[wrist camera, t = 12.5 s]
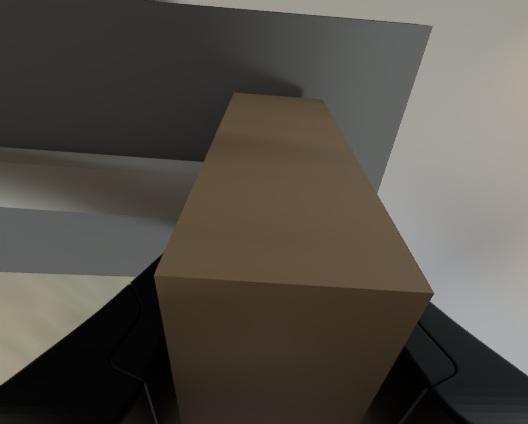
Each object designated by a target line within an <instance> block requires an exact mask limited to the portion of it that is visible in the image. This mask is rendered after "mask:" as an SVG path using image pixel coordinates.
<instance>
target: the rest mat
mask: <svg viewBox="0 0 528 424" xmlns="http://www.w3.org/2000/svg"><path fill="white" fill-rule="evenodd" d="M431 30H432V26H428V25H419V24H410V23H397V22H387V21H375V20H363V19H352V18H340V17H328V16H316V15H305V14H292V13H282V12H270V11H257V10H247V9H235V8H222V7H212V6H200V5H189V4H177V3H165V2H154V1H142V0H0V147H6V148H20V149H33V150H47V151H60V152H74V153H88V154H101V155H115V156H128V157H142V158H155V159H169V160H182V161H196V162H204V160H205V158H206V155H207V153H208V151H209V148H210V146H211V144H212V142H213V139H214V137H215V135H216V132H217V130H218V128H219V126H220V123H221V121H222V119H223V117H224V114H225V112H226V110H227V107H228V105H229V103H230V101H231V98H232V96H233V94H234V93H247V94H259V95H272V96H284V97H297V98H309V99H322V100H323V101H324V103H325V105H326V107H327V108H328V110H329V112H330V114H331V115H332V117H333V119H334V121H335V122H336V124H337V126H338V127H339V129H340V131H341V133H342V134H343V136H344V138H345V140H346V141H347V143H348V145H349V147H350V148H351V150H352V152H353V153H354V155H355V157H356V159H357V160H358V162H359V164H360V166H361V167H362V169H363V171H364V172H365V174H366V176H367V178H368V179H369V181H370V183H371V185H372V186H373V188H374V190H375V192H376V193H377V192H378V189H379V186H380V183H381V180H382V177H383V174H384V171H385V168H386V165H387V162H388V159H389V156H390V153H391V150H392V147H393V144H394V141H395V138H396V135H397V132H398V129H399V126H400V123H401V120H402V117H403V114H404V111H405V108H406V105H407V102H408V99H409V96H410V93H411V90H412V87H413V84H414V81H415V78H416V75H417V72H418V69H419V66H420V63H421V60H422V56H423V54H424V51H425V48H426V45H427V42H428V38H429V35H430V33H431ZM177 221H178V219H168V218H154V217H139V216H125V215H110V214H96V213H81V212H67V211H52V210H38V209H23V208H9V207H0V272H20V273H47V274H74V275H101V276H128V277H137V276H138V275H139V274H140V273H142V272H143V271H144V270H145V269H146V268H147V267H148V266H149V265H150V264H151V263H153V262H154V261H155V260H156V259H157V258H158V257H159V256H160V255H161V254H162V253H164V251H165V249H166V247H167V244H168V242H169V240H170V237H171V235H172V233H173V231H174V228H175V226H176V224H177Z"/></svg>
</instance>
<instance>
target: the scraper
mask: <svg viewBox="0 0 528 424" xmlns="http://www.w3.org/2000/svg"><path fill="white" fill-rule="evenodd" d="M0 207H9V208H23V209H38V210H52V211H67V212H81V213H96V214H110V215H125V216H139V217H154V218H168V219H178V221H177V224H176V226H175V228H174V231H173V233H172V235H171V237H170V240H169V242H168V244H167V247H166V249H165V251H164V253H163V256H162V258H161V260H160V263H159V265H158V267H157V269H156V272H155V274H154V279H155V284H156V289H157V295H158V300H159V306H160V311H161V316H162V322H163V327H164V332H165V338H166V343H167V348H168V354H169V359H170V364H171V370H172V375H173V381H174V386H175V391H176V397H177V402H178V407H179V413H180V418H181V423H182V424H359V423H360V422H361V420H362V418H363V416H364V415H365V413H366V411H367V409H368V408H369V406H370V404H371V402H372V401H373V399H374V397H375V396H376V394H377V392H378V390H379V389H380V387H381V385H382V383H383V382H384V380H385V378H386V376H387V375H388V373H389V371H390V369H391V368H392V366H393V364H394V362H395V361H396V359H397V357H398V355H399V354H400V352H401V350H402V349H403V347H404V345H405V343H406V342H407V340H408V338H409V336H410V335H411V333H412V331H413V329H414V328H415V326H416V324H417V322H418V321H419V319H420V317H421V315H422V314H423V312H424V310H425V308H426V307H427V305H428V303H429V302H430V300H431V298H432V296H433V295H434V292H433V290H432V289H431V287H430V285H429V284H428V282H427V280H426V278H425V276H424V275H423V273H422V271H421V270H420V268H419V266H418V264H417V263H416V261H415V259H414V257H413V256H412V254H411V252H410V250H409V249H408V247H407V245H406V244H405V242H404V240H403V238H402V237H401V235H400V233H399V231H398V230H397V228H396V226H395V224H394V223H393V221H392V219H391V218H390V216H389V214H388V212H387V211H386V209H385V207H384V205H383V204H382V202H381V200H380V199H379V197H378V195H377V193H376V192H375V190H374V188H373V186H372V185H371V183H370V181H369V179H368V178H367V176H366V174H365V172H364V171H363V169H362V167H361V166H360V164H359V162H358V160H357V159H356V157H355V155H354V153H353V152H352V150H351V148H350V147H349V145H348V143H347V141H346V140H345V138H344V136H343V134H342V133H341V131H340V129H339V127H338V126H337V124H336V122H335V121H334V119H333V117H332V115H331V114H330V112H329V110H328V108H327V107H326V105H325V103H324V101H323V100H322V99H309V98H297V97H284V96H272V95H259V94H247V93H234V94H233V96H232V98H231V101H230V103H229V105H228V107H227V110H226V112H225V114H224V117H223V119H222V121H221V123H220V126H219V128H218V130H217V132H216V135H215V137H214V139H213V142H212V144H211V146H210V148H209V151H208V153H207V155H206V158H205V160H204V162H196V161H182V160H169V159H155V158H142V157H128V156H115V155H101V154H88V153H74V152H60V151H47V150H33V149H20V148H6V147H0Z"/></svg>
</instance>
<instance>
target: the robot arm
mask: <svg viewBox="0 0 528 424" xmlns="http://www.w3.org/2000/svg"><path fill="white" fill-rule="evenodd" d="M162 256H163V253H162V254H161V255H160V256H159V257H158V258H157V259H156V260H155V261H154V262H153V263H151V264H150V265H149V266H148V267H147V268H146V269H145V270H144V271H143V272H142V273H140V274H139V275H138V276H137V277H136V278H135V279H134V280H133V281H132V282H131V283H130V285H127V286H126V287H125V288H124V289H123V290H122V291H120V292H119V293H118V294H117V295H116V296H115V297H114V298H113V299H111V300H110V301H109V302H108V303H107V304H106V305H104V306H103V307H102V308H101V309H100V310H99V311H98V312H96V313H95V314H94V315H92V316H91V317H90V318H89V319H87V320H86V321H85V322H84V323H82V324H81V325H80V326H79V327H77V328H76V329H75V330H73V331H72V332H71V333H70V334H68V335H67V336H66V337H64V338H63V339H62V340H60V341H59V342H58V343H56V344H55V345H54V346H52V347H51V348H50V349H48V350H47V351H46V352H44V353H43V354H42V355H40V356H39V357H38V358H36V359H35V360H34V361H32V362H31V363H30V364H29V365H27V366H26V367H25V368H23V369H22V370H21V371H19V372H18V373H17V374H15V375H14V376H13V377H11V378H10V379H9V380H7V381H6V382H4V383H3V384H2V385H0V424H182V423H181V418H180V413H179V407H178V402H177V397H176V391H175V386H174V381H173V375H172V370H171V364H170V359H169V354H168V348H167V343H166V338H165V332H164V327H163V322H162V316H161V311H160V306H159V300H158V295H157V289H156V284H155V279H154V274H155V272H156V269H157V267H158V265H159V263H160V260H161V258H162ZM359 424H528V376H527V375H526V374H525V373H523V372H522V371H520V370H519V369H518V368H516V367H515V366H514V365H512V364H511V363H510V362H508V361H507V360H506V359H504V358H503V357H501V356H500V355H499V354H497V353H496V352H495V351H493V350H492V349H490V348H489V347H488V346H486V345H485V344H484V343H482V342H481V341H479V340H478V339H477V338H476V337H474V336H473V335H472V334H470V333H469V332H468V331H466V330H465V329H464V328H462V327H461V326H460V325H458V324H457V323H456V322H454V321H453V320H452V319H451V318H450V317H448V316H447V315H446V314H445V313H443V312H442V311H441V310H440V309H439V308H437V307H436V306H435V305H434V304H432V303H431V302H429V303H428V305H427V307H426V308H425V310H424V312H423V314H422V315H421V317H420V319H419V321H418V322H417V324H416V326H415V328H414V329H413V331H412V333H411V335H410V336H409V338H408V340H407V342H406V343H405V345H404V347H403V349H402V350H401V352H400V354H399V355H398V357H397V359H396V361H395V362H394V364H393V366H392V368H391V369H390V371H389V373H388V375H387V376H386V378H385V380H384V382H383V383H382V385H381V387H380V389H379V390H378V392H377V394H376V396H375V397H374V399H373V401H372V402H371V404H370V406H369V408H368V409H367V411H366V413H365V415H364V416H363V418H362V420H361V422H360V423H359Z"/></svg>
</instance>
